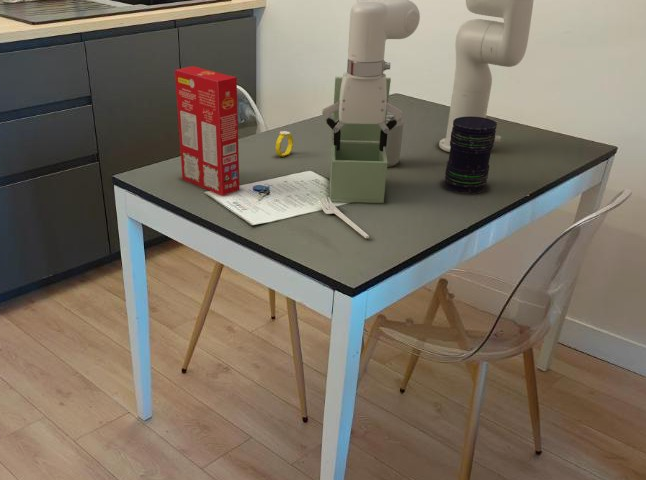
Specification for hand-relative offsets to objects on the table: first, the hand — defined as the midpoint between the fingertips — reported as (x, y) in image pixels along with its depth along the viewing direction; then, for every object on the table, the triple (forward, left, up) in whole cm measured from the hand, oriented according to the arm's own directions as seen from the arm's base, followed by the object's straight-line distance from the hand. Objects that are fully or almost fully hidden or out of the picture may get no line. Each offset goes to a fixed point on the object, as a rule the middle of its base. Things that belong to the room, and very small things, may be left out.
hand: (359, 149), depth 157 cm
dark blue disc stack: (-26, -6, -10) cm, 29 cm away
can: (-8, -21, -10) cm, 25 cm away
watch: (+18, -25, -10) cm, 33 cm away
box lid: (0, -6, +7) cm, 9 cm away
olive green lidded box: (0, -1, -10) cm, 10 cm away
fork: (+3, +17, -10) cm, 20 cm away
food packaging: (+35, -3, -10) cm, 36 cm away
